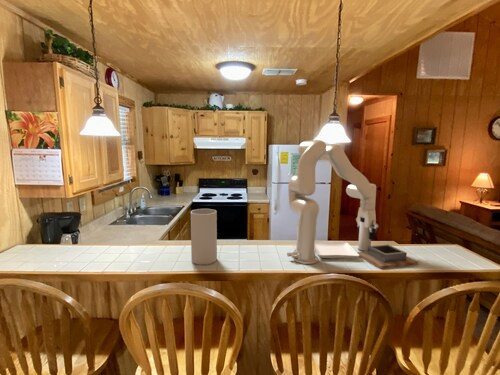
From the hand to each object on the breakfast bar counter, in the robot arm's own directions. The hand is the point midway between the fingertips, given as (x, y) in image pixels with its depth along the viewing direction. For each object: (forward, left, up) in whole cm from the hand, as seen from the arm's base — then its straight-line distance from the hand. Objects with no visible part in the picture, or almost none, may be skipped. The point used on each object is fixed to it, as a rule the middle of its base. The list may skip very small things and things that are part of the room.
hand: (365, 236), depth 151 cm
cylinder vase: (-88, +7, -8) cm, 89 cm away
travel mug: (0, 0, -8) cm, 8 cm away
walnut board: (+2, -14, -8) cm, 16 cm away
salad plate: (-19, +1, -9) cm, 21 cm away
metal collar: (+2, -14, -7) cm, 16 cm away
